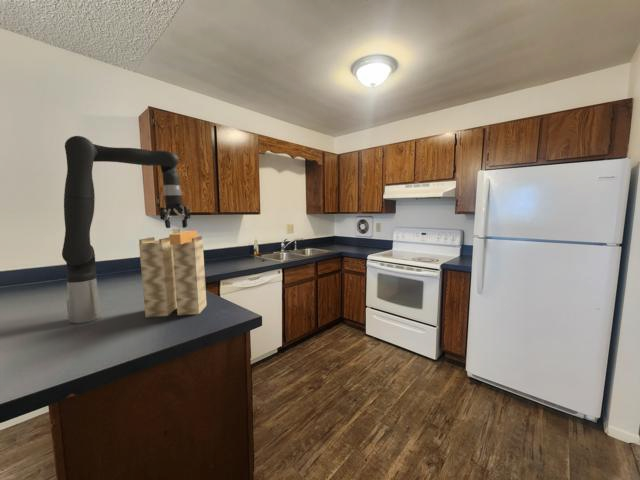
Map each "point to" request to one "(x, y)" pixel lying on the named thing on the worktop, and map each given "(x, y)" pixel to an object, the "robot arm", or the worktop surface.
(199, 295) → the post
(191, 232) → the bracket bar
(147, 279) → the rosette post
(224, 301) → the worktop surface
